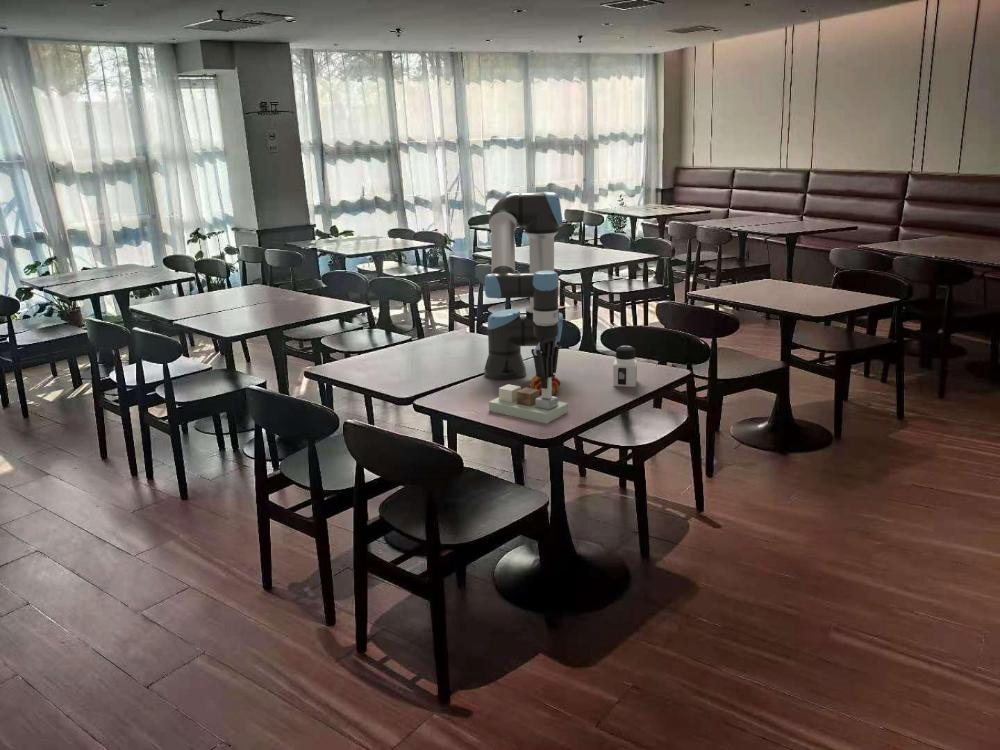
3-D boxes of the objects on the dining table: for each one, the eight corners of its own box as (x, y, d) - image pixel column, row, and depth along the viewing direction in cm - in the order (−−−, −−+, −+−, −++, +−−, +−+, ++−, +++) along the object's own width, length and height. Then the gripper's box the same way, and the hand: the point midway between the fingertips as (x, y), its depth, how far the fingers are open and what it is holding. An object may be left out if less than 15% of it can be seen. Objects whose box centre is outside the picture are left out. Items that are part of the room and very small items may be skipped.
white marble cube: (535, 414, 251) (535, 398, 249) (544, 409, 255) (544, 394, 253) (549, 417, 248) (549, 401, 247) (557, 412, 252) (557, 397, 250)
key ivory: (499, 403, 259) (498, 388, 257) (508, 398, 262) (507, 384, 261) (511, 405, 256) (511, 390, 254) (520, 401, 260) (520, 386, 258)
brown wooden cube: (517, 406, 254) (516, 391, 253) (526, 402, 258) (525, 387, 257) (530, 409, 252) (530, 394, 250) (539, 404, 255) (538, 389, 254)
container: (635, 387, 277) (636, 350, 273) (613, 386, 278) (613, 349, 274) (636, 380, 284) (637, 344, 280) (614, 379, 285) (615, 344, 281)
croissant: (534, 391, 286) (523, 372, 284) (559, 377, 285) (549, 358, 283) (539, 410, 266) (527, 390, 264) (565, 395, 265) (554, 375, 263)
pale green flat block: (489, 410, 257) (488, 401, 256) (510, 400, 266) (510, 391, 266) (547, 423, 245) (547, 414, 244) (567, 412, 254) (567, 403, 253)
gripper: (544, 328, 236) (545, 405, 243) (568, 320, 246) (568, 393, 253) (523, 325, 240) (524, 401, 247) (547, 317, 250) (547, 390, 257)
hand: (546, 397), depth 250 cm, fingers closed
